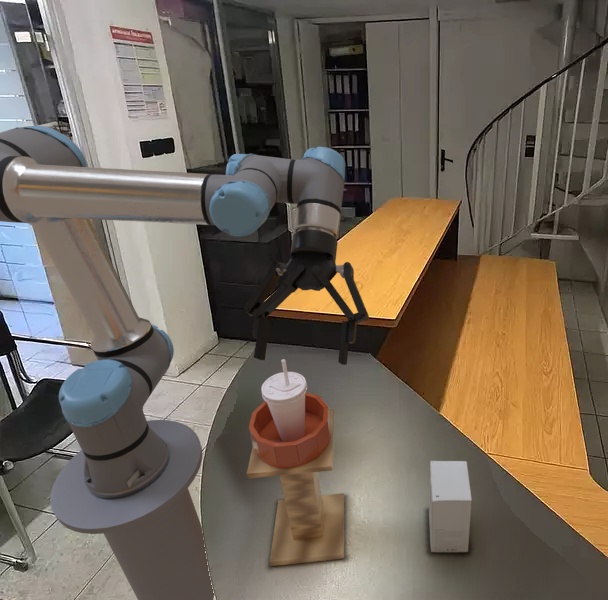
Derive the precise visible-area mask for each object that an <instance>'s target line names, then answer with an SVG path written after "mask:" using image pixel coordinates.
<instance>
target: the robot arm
mask: <svg viewBox="0 0 608 600" xmlns="http://www.w3.org/2000/svg"><path fill="white" fill-rule="evenodd" d="M345 177H346V161H345V159H344V157H343V156H342V154H340V153H339V152H338V151H336V150H335V149H333V148H329V147H327V146H316V147H311V148H308V149H306V151H305V152H304V154H303V157H302V158H301V159H299V158H296V159H292V158H283V157H275V156H267V155H259V154H255V153H234V154H232V155H230V157H229V158H228V163H227V164H226V168H225V174H210V173H200V172H199V173H198V172H196V173H195V172H180V171H161V170H147V169H146V170H145V169H143V170H142V169H126V168H125V169H123V168H109V167H108V168H107V167H91V166H90V167H89V166H88V165H87V160H86V157H85V156H84V153H83V152H82V151H81V149H80V148H79V146H78V144H76V142H74V141H73V140H72V139H71V138H69V137H68V136H67V135H66V134H64V133H61V132H60V131H58V130H56V129H54V128H52V127H48V126H43V125H27V126H19V127H18V126H17V127H15V128H11V129H10V128H9V129H8V130H7V129H6V130H4V131H1V132H0V222H2V223H3V222H4V223H19V224H28V225H30V226H31V227H32V228H33V230H34V231H35V233H36V236H37V237H38V238H39V239H38V240H40V242H41V244H42V246H43V247H44V249H45V251H46V253H47V254H48V257H49V258H50V260H51V261H52V263H53V265H54V267H55V269H56V270H57V272H58V274H59V276H60V278H61V280H62V281H63V283H64V284H65V286H66V289H67V290H68V292H69V293H70V295H71V297H72V299H73V300H74V302H75V303H76V304H75V305H77V308H78V309H79V311H80V313H81V314H82V316H83V318H84V320H85V321H86V323H87V325H88V327H89V329H90V330H91V332H92V334H93V335H94V336H93V337H92V340H91V342H90V349H91V350H92V352H93V354H94V355H95V357H96V359H97V360H95V361H92V362H89V363H87V364H85V365H84V367H82V368H78V369H76V370H74V371H73V372H72V373H71V374H70V375H68V376H67V378H65V380H64V381H63V383H61V387H60V388H59V392H58V402H59V405H60V408H61V413H62V415H63V417H64V419H65V420H66V422H67V425H68V426H69V427H70V429H71V431H72V433H73V435H74V437H75V439H76V442H77V443H78V445H79V448H80V450H82V451H83V453H84V481H85V484H86V486H87V488H88V490H89V491H90V493H91V494H92V495H94V496H96V497H98V498H101V499H118V498H123V497H127V496H130V495H132V494H135V493H137V492H139V491H141V490H143V489H144V488H146V487H148V486H149V485H150V484H152V483H153V482H154V481H155V480H156V479H158V478H159V476H160V475H161V474H162V473H163V472H164V470H165V469H166V467H167V465H168V462H169V450H168V448H167V445H166V443H165V442H164V440H163V439H162V438H160V437H159V436H158V435H157V434H156V433H155V432H154V431H153V430H152V429H151V428H150V427H149V426H148V423H147V421H148V420H147V418H146V415H145V412H144V407H145V404H147V401H148V400H149V398H150V397H151V395H152V394H153V392H154V391H155V390H156V388H157V386H158V385H159V383H160V382H161V380H162V379H163V378H164V376H165V374H166V373H168V370H169V368H170V366H171V363H172V361H173V358H174V354H175V348H174V344H173V341H172V339H171V338H170V336H169V335H168V334H167V332H165V330H163V329H159V327H158V326H157V325H155V324H152V323H151V321H150V320H149V319H147V318H143V317H140V316H138V313H137V311H136V309H135V307H134V305H133V303H132V301H131V299H130V296H129V295H128V293H127V291H126V289H125V286H124V285H123V283H122V280H121V279H120V276H119V275H118V273H117V271H116V269H115V266H114V265H113V263H112V260H111V258H110V257H109V255H108V253H107V250H106V248H105V246H104V244H103V243H102V240H101V239H100V237H99V235H98V232H97V231H96V229H95V227H94V225H93V223H92V220H99V221H100V220H102V221H119V222H120V221H121V222H141V223H142V222H143V223H160V224H161V223H162V224H163V223H164V224H181V225H182V224H183V225H202V226H216V228H218V230H220V231H221V232H224V233H225V234H227V235H229V236H232V237H246V236H249V235H252V234H253V233H255V232H256V231H257V230H258V229H260V228H261V226H262V225H263V224H264V223H265V222H267V220H268V217H269V216H270V212H271V210H272V209H273V207H274V206H275V205H276V203H279V204H280V203H281V204H292V205H294V204H296V210H295V211H296V212H295V216H294V217H295V218H294V225H293V232H294V233H293V234H292V240H291V248H290V257H289V261H288V262H286V263H285V262H279V261H277V260H276V259H272V260H271V261H269V266H268V269H267V272H266V274H265V275H264V277H263V278H262V279H261V282H260V283H259V284H258V286H257V287H256V289H255V290H254V292H253V294H252V295H251V296H250V298H249V299H248V301H247V302H246V304H245V305H244V307H243V311H244V313H246V314H248V315H249V316H251V317H253V324H252V331H251V336H252V338H254V339H255V347H254V353H253V358H254V359H257V360H259V361H265V360H266V355H267V349H268V348H267V346H268V340H269V333H270V326H271V321H270V320H269V319H268V317H269V316H270V315H271V314H272V313H273V312H274V311H275V310H276V309H277V308H279V306H280V305H281V304H283V302H285V301H286V300H287V298H289V296H290V295H292V294H293V293H296V292H297V291H298V290H299V289H300V290H301V291H310V290H312V291H316V292H321V290H323V289H325V290H326V291H327V293H328V294H329V296H330V297H331V299H332V300H333V301H334V303H335V305H337V306H338V308H339V309H340V311H341V312H342V313H343V315H344V316H345V318H346V319H347V320H342V323H341V330H340V343H339V351H338V364H340V365H342V366H346V365H347V364H348V357H349V346H350V345H349V344H355V342H356V337H357V326H358V324H359V323H361V322H367V321H368V320H369V319H370V315H369V313H368V311H367V308H366V305H365V303H364V301H363V298H362V295H361V293H360V291H359V289H358V286H357V284H356V281H355V271H354V267H353V265H352V264H351V263H350V262H349V261H346V262H344V263H343V264H336V261H337V254H338V253H337V252H338V251H337V250H338V243H339V242H338V240H337V239H338V237H339V233H340V226H341V225H340V223H341V213H342V205H343V198H344V189H345V183H346V182H345V180H346V179H345ZM285 272H287V274H288V276H287V277H286V278H285V279H283V281H282V283H281V285H279V287H278V288H277V289H276V290H275V291H274V292H272V291H273V289H274V287H276V284H277V283H278V282H279V279H280V277H282V276H283V275H284V273H285ZM337 274H339V276H340V277H341V278H342V279H344V281H345V283H346V286H347V289H348V291H349V294H350V296H351V299H352V301H353V304H354V306H355V308H356V311H357V312H353V311H352V310H351V308H350V306H349V305H348V304H347V302H346V301H345V299H344V298H343V297H342V296H341V294H340V293H339V292H338V290H337V289H336V287H335V286H334V285H333V283H332V282H331V281H332V280H333V278H335V276H336V275H337ZM271 292H272V293H271ZM270 293H271V295H270Z"/></svg>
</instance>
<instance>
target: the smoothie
mask: <svg viewBox="0 0 608 600" xmlns="http://www.w3.org/2000/svg"><path fill="white" fill-rule="evenodd" d="M280 361H281V366H282V372H277V373H275V374H273V375H271V376H269V377H268V378H266V380H265V381H264V382H263V383H262V385H261V387H260V390H261V398H262V400H263V401H266V402H267V404H268V407H269V409H270V412H271V414H272V417H273V420H274V422H275V425H276V427H277V430H278V433H279V435H280V438H281V440H282V441H283V442H292V441H297V440H299V439H301V438H303V437H304V436H305V393H306V392H308V391H307V390H308V385H307V380H306V378H305V377H304V375H302V374H300V373H299V372H294V371H288V366H287V360H286V359H285V358H283V359H280Z"/></svg>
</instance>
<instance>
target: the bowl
mask: <svg viewBox="0 0 608 600" xmlns="http://www.w3.org/2000/svg"><path fill="white" fill-rule="evenodd" d="M329 409H330V408H329V406H328V404H327V403H326V402H325V401H324V400H323V399H322V398H321V396H319V395H317V394H314V393H311V392H308V391H306V393H305V436H304V437H303V438H301V439H299V440H297V441H292V442H283V441H282V440H281V438H280V435H279V433H278V430H277V427H276V425H275V422H274V420H273V417H272V414H271V412H270V409H269V407H268V404H267V402H266V401H265V400H263V402H262V403H261V404H260V405H258V406H257V407H256V408H255V409H254V410H253V411H252V413H251V417H250V421H249V425H248V431H249V435H250V439H251V444H252V448H253V447H254V448H255V450H256V453H257V456H258V457H259V458H260V459H261V460H262V461H263V462H264V463H266V464H268V465H270V466H273V467H277V468H293V467H298V466H302V465H304V464H307V463H309V462H311V461H313V460H314V459H316V458H317V457H318V456H320V455H321V454H322V453H323V452H324V450H325V449H326V448H327V446H328V444H329V441H330V437H331V431H330V426H331V424H330V416H329Z"/></svg>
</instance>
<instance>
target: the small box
mask: <svg viewBox="0 0 608 600" xmlns="http://www.w3.org/2000/svg"><path fill="white" fill-rule="evenodd" d="M469 473H470V472H469V467H468V461H467V460H430V462H429V497H428V498H429V501H428V522H429V523H428V524H429V541H430V543H429V544H430V553H468V552H469V545H470V531H471V530H470V529H471V519H472V518H471V517H472V504H473V497H472V488H471V481H470V474H469Z"/></svg>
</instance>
